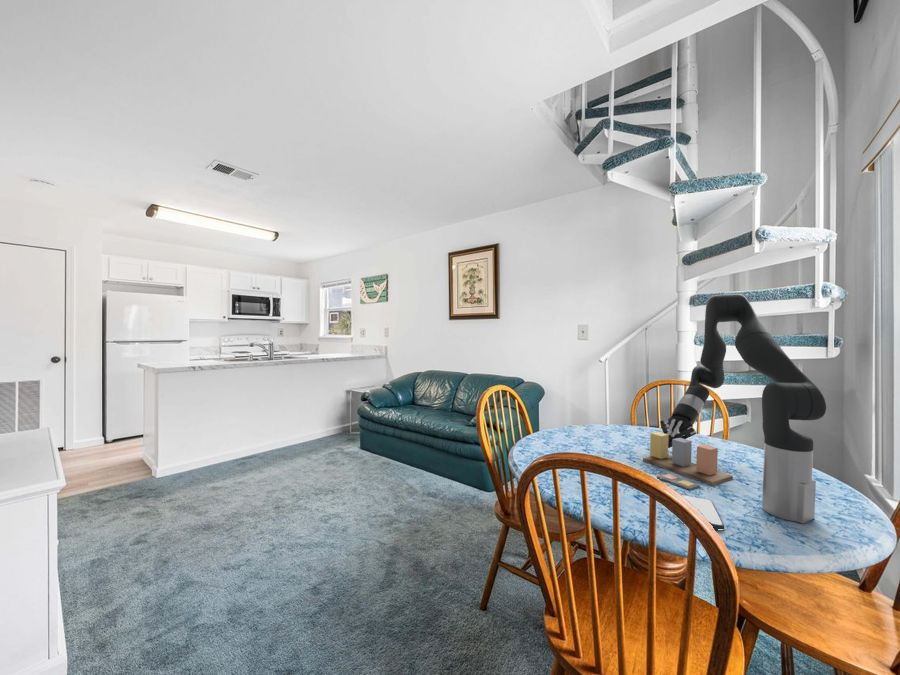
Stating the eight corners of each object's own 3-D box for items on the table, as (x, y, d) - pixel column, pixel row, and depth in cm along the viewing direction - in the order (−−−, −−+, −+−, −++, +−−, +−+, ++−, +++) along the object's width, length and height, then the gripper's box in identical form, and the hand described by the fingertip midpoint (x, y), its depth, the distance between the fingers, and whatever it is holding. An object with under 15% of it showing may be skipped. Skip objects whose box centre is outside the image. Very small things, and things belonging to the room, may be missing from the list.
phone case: (674, 498, 106) (681, 524, 91) (674, 493, 106) (681, 518, 91) (712, 505, 102) (725, 533, 87) (712, 499, 102) (726, 526, 87)
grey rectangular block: (691, 464, 126) (691, 440, 126) (683, 466, 124) (684, 442, 124) (679, 460, 130) (679, 437, 130) (671, 462, 128) (672, 439, 128)
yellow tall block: (667, 457, 133) (668, 434, 133) (660, 458, 132) (661, 436, 131) (657, 453, 137) (657, 431, 137) (649, 455, 135) (650, 433, 135)
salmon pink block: (716, 473, 119) (717, 447, 119) (709, 475, 117) (710, 449, 117) (703, 468, 123) (704, 444, 122) (696, 470, 121) (696, 446, 121)
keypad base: (732, 479, 118) (732, 475, 118) (712, 485, 113) (712, 482, 113) (662, 456, 138) (662, 453, 138) (643, 460, 134) (643, 457, 134)
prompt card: (699, 487, 112) (699, 484, 112) (689, 490, 110) (689, 487, 109) (667, 475, 121) (667, 472, 121) (657, 477, 118) (657, 475, 118)
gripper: (666, 399, 146) (644, 435, 141) (702, 406, 134) (680, 445, 129) (675, 412, 148) (653, 447, 143) (711, 419, 136) (689, 458, 131)
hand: (666, 446), depth 136 cm, fingers closed
